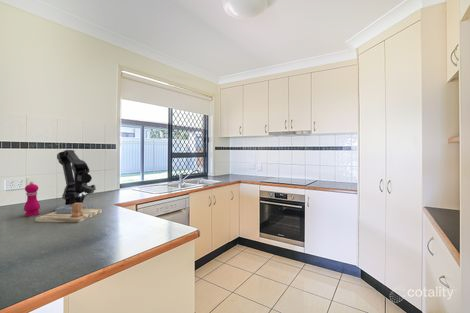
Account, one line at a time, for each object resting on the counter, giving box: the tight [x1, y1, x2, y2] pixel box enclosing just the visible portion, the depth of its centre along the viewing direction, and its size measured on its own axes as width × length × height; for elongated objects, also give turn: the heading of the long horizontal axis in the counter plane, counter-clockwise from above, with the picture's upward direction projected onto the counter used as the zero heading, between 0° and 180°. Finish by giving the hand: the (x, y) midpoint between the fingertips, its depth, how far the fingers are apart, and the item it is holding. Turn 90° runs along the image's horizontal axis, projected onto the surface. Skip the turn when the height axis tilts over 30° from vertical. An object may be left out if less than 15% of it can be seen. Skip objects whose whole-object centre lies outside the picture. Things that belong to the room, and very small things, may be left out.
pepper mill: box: [23, 181, 41, 217], centre depth 135 cm, size 7×7×20 cm
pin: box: [72, 203, 83, 217], centre depth 127 cm, size 4×4×9 cm
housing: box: [55, 205, 72, 214], centre depth 136 cm, size 9×9×3 cm
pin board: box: [34, 208, 103, 223], centre depth 133 cm, size 20×24×2 cm
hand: (80, 206), depth 144 cm, fingers closed
